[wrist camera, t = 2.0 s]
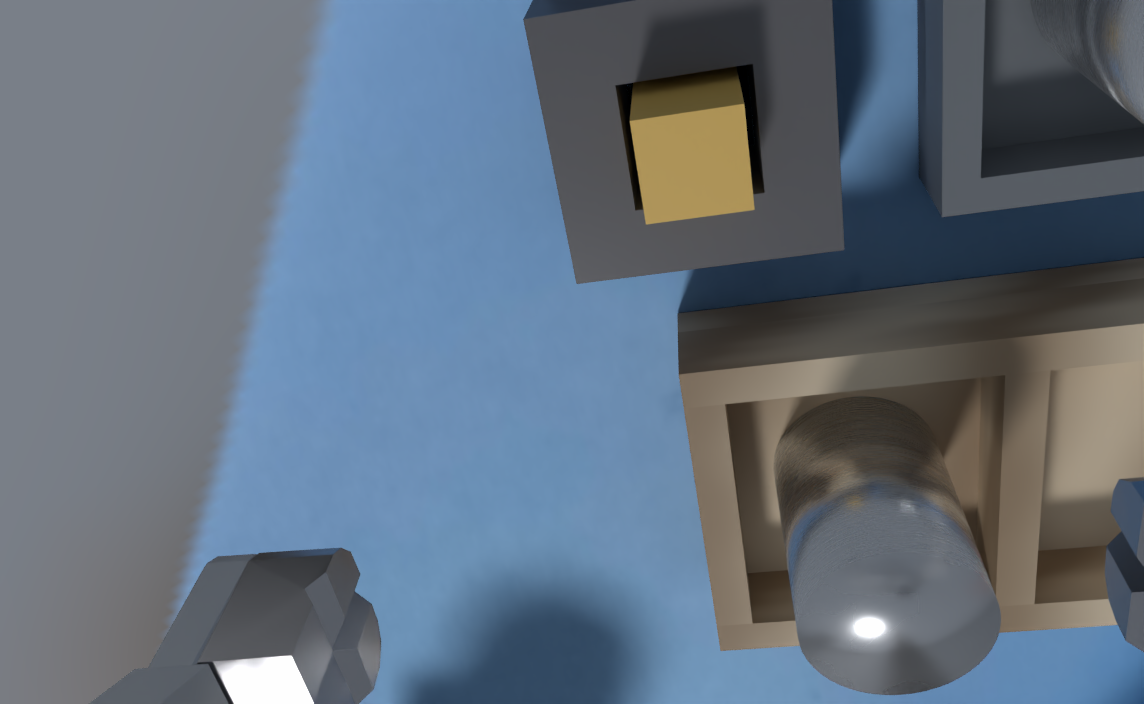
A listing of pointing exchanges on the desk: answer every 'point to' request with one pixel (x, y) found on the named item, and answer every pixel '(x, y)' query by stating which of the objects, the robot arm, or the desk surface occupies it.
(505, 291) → the desk surface
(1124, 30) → the billet
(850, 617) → the seated billet
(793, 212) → the switch box
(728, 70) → the button
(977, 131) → the square frame
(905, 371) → the divided wooden tray
